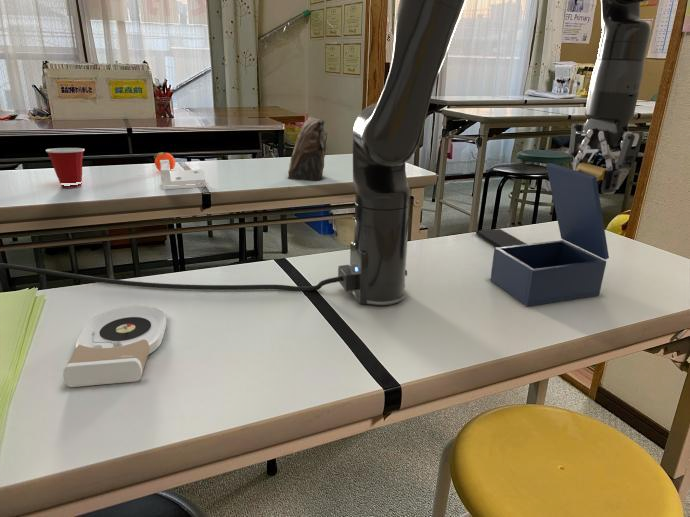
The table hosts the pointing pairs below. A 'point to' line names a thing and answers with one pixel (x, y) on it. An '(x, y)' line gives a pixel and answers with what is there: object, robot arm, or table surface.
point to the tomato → (164, 157)
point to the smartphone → (499, 238)
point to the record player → (115, 346)
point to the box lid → (579, 206)
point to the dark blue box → (547, 272)
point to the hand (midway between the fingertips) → (593, 187)
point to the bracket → (181, 177)
